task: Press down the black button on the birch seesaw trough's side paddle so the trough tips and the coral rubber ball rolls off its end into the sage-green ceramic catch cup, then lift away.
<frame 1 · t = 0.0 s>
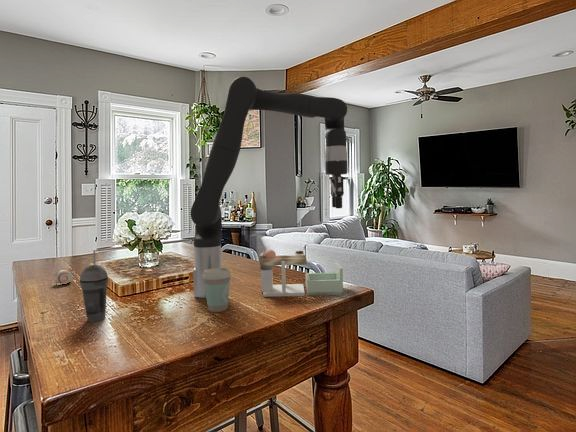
hand: (337, 207, 125), 29 cm above the table, fingers open, 8 cm apart
ball: (270, 255, 128), point 13 cm above the table, touching lever trough
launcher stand: (284, 291, 129), on the table
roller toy: (63, 284, 148), on the table
lever trough: (283, 259, 131), point 11 cm above the table, hinge at 0.0°, touching ball
catch cup: (323, 290, 129), on the table
coffee cup: (218, 309, 111), on the table
beverage cup: (96, 319, 104), on the table
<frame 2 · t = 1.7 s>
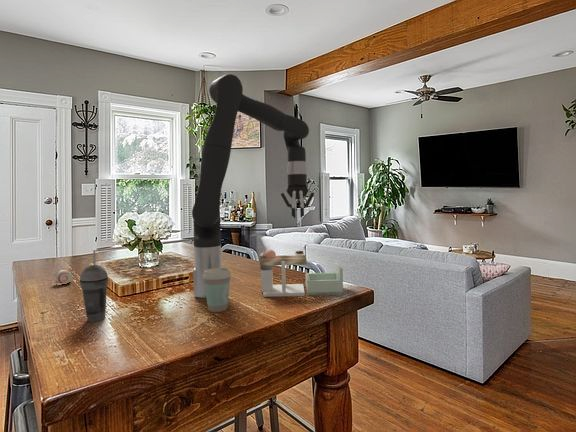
hand: (298, 217, 143), 25 cm above the table, fingers closed
nothing on the table moved.
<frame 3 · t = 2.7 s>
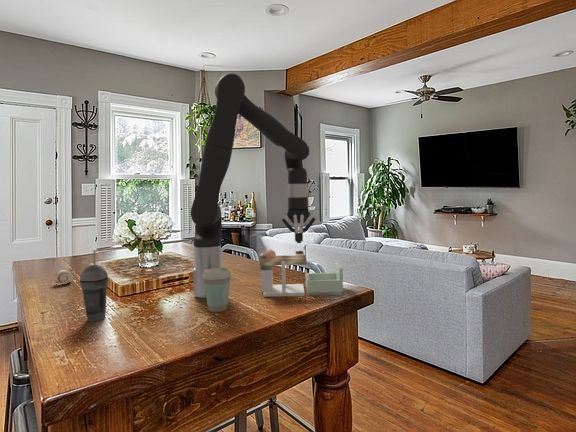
hand: (299, 242, 135), 16 cm above the table, fingers closed
nothing on the table moved.
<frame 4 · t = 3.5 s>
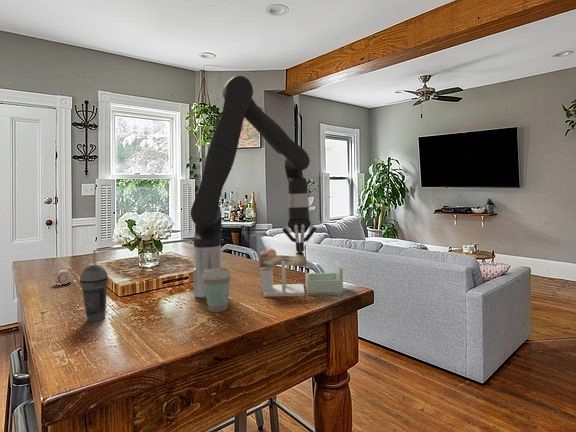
hand: (300, 252, 135), 13 cm above the table, fingers closed
ball: (270, 254, 128), point 13 cm above the table, tilted 6°, touching lever trough
lever trough: (283, 259, 131), point 11 cm above the table, hinge at 4.7°, touching ball, gripper
everything else where it was.
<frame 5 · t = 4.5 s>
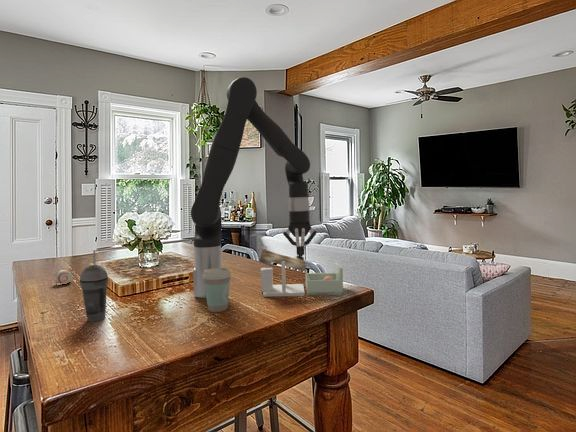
hand: (300, 256, 135), 11 cm above the table, fingers closed
ball: (328, 282, 129), point 3 cm above the table, tilted 52°, touching catch cup
lever trough: (283, 259, 131), point 11 cm above the table, hinge at 18.4°, touching gripper
everything else where it was.
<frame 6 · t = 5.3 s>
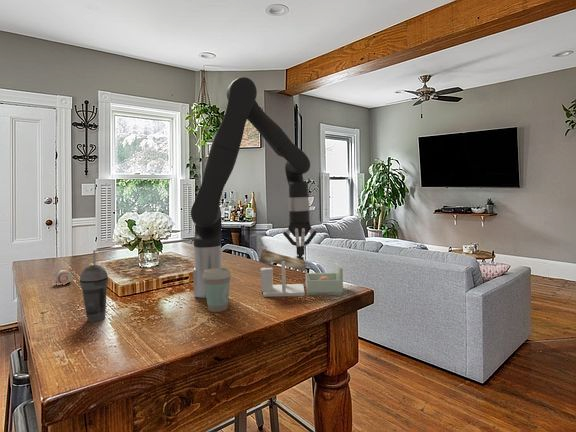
hand: (300, 256, 135), 11 cm above the table, fingers closed
ball: (324, 282, 129), point 3 cm above the table, tilted 93°, touching catch cup
everything else where it was.
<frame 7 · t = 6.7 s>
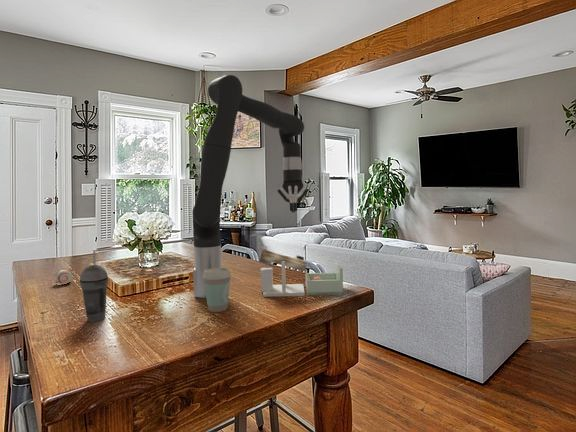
hand: (293, 212, 147), 27 cm above the table, fingers closed
ball: (317, 282, 129), point 3 cm above the table, tilted 165°, touching catch cup
lever trough: (283, 259, 131), point 11 cm above the table, hinge at 18.4°
everything else where it was.
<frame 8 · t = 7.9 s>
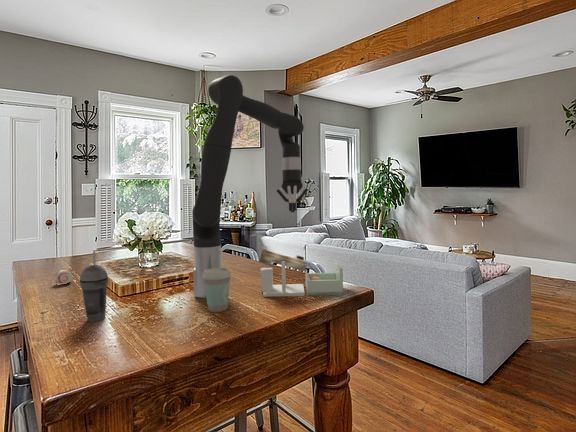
hand: (292, 212, 147), 27 cm above the table, fingers closed
ball: (315, 282, 129), point 3 cm above the table, tilted 178°, touching catch cup
everything else where it was.
at the end: ball inside the target area on the catch cup (2.7 cm from its centre), point 3.0 cm above the catch cup's base; ball moved 18.8 cm from its start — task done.
